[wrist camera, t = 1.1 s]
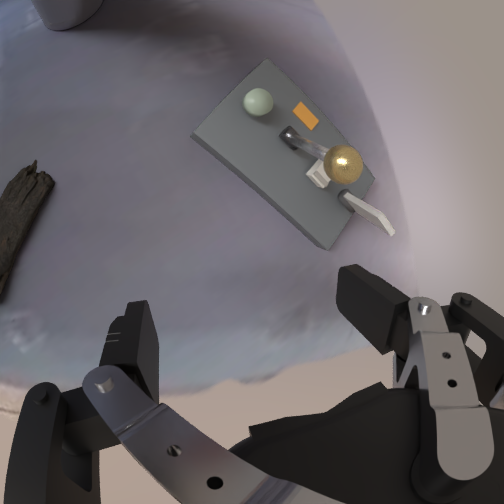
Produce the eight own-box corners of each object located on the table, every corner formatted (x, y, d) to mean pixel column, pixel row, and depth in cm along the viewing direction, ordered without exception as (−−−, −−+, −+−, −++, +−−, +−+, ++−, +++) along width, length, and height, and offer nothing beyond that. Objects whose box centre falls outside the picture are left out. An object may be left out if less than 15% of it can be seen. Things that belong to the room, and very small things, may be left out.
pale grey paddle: (347, 211, 38) (388, 240, 29) (333, 195, 36) (374, 221, 27) (356, 201, 37) (398, 228, 29) (342, 185, 36) (385, 208, 27)
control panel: (316, 245, 41) (328, 251, 38) (189, 136, 30) (194, 132, 27) (362, 177, 41) (376, 178, 38) (258, 65, 31) (267, 57, 28)
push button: (253, 124, 30) (262, 120, 27) (233, 106, 28) (240, 100, 26) (269, 106, 30) (278, 101, 27) (249, 89, 28) (258, 83, 26)
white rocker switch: (317, 186, 35) (324, 188, 33) (305, 174, 34) (312, 176, 32) (333, 166, 34) (341, 168, 33) (322, 154, 33) (330, 155, 31)
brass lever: (289, 153, 32) (349, 198, 18) (272, 137, 31) (324, 169, 17) (305, 137, 32) (377, 170, 18) (289, 120, 30) (354, 140, 16)
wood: (23, 148, 23) (14, 145, 20) (59, 179, 26) (51, 179, 23) (-33, 282, 22) (-42, 290, 19) (-2, 312, 25) (-10, 321, 23)
